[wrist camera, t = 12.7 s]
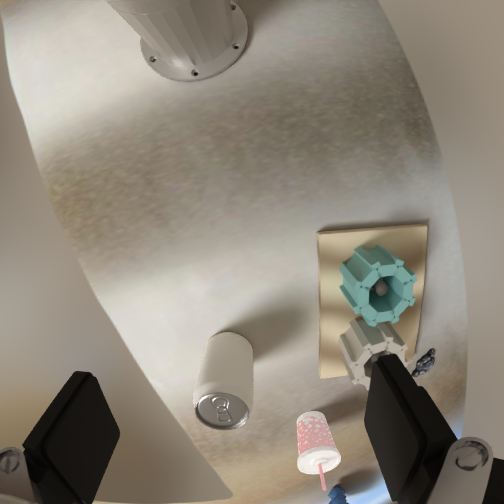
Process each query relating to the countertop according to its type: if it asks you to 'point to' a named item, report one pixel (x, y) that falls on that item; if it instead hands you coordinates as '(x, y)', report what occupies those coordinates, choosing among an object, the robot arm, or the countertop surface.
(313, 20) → the countertop surface
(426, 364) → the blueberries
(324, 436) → the beverage cup
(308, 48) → the countertop surface
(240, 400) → the can
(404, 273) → the teal gear
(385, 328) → the gear
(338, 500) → the blue flower ornament
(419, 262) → the board
